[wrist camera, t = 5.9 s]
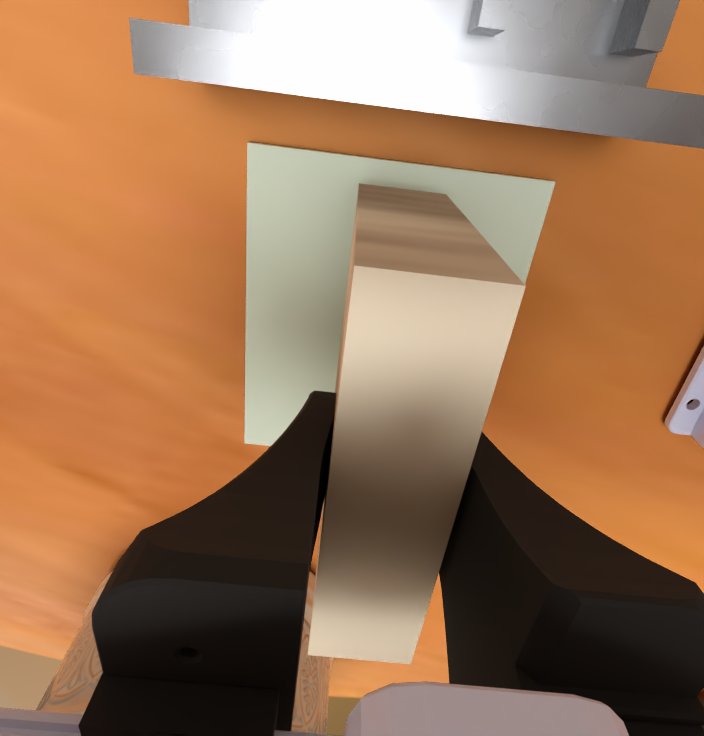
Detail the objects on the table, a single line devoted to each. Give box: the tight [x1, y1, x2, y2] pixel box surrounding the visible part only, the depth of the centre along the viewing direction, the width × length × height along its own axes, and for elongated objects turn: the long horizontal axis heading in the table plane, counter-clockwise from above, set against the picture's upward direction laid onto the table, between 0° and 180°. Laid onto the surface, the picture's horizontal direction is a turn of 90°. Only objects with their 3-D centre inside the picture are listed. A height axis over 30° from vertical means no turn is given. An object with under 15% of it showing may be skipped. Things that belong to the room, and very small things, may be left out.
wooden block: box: [308, 183, 526, 664], centre depth 13 cm, size 10×3×8 cm, turn 173°
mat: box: [245, 142, 556, 446], centre depth 19 cm, size 12×10×1 cm
